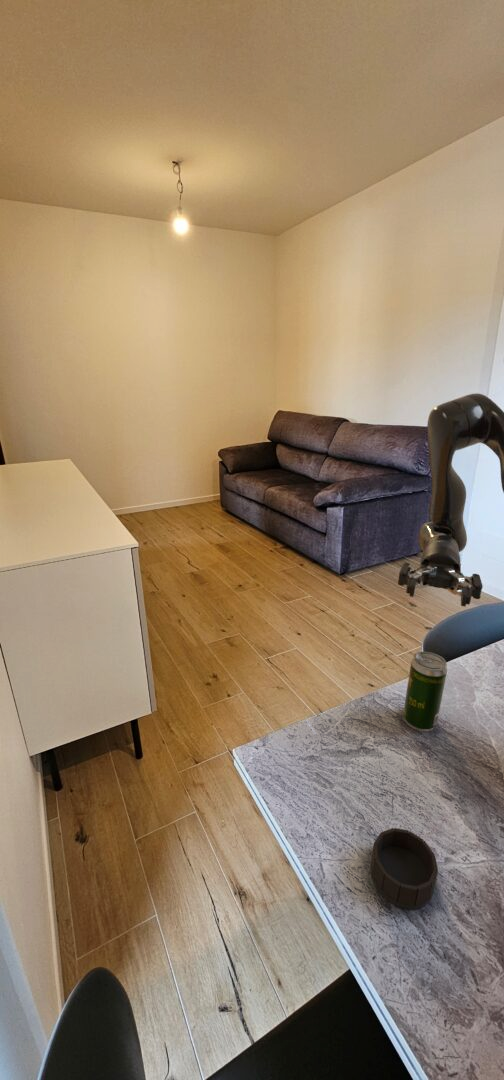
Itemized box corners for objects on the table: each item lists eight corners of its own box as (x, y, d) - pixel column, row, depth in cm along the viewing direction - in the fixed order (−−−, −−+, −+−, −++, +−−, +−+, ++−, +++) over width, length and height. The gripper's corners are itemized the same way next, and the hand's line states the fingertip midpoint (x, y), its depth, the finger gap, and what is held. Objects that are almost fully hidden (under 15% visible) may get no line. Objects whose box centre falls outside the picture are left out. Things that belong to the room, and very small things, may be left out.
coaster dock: (427, 852, 55) (431, 833, 54) (439, 916, 48) (444, 896, 47) (368, 841, 56) (371, 823, 55) (372, 902, 49) (375, 882, 48)
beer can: (438, 716, 77) (449, 656, 73) (434, 737, 72) (446, 674, 68) (405, 706, 79) (414, 647, 75) (399, 726, 74) (409, 664, 70)
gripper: (406, 540, 94) (398, 570, 80) (482, 551, 89) (487, 584, 75) (401, 573, 97) (393, 607, 83) (475, 585, 91) (478, 624, 77)
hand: (437, 596), depth 79 cm, fingers open, 8 cm apart
